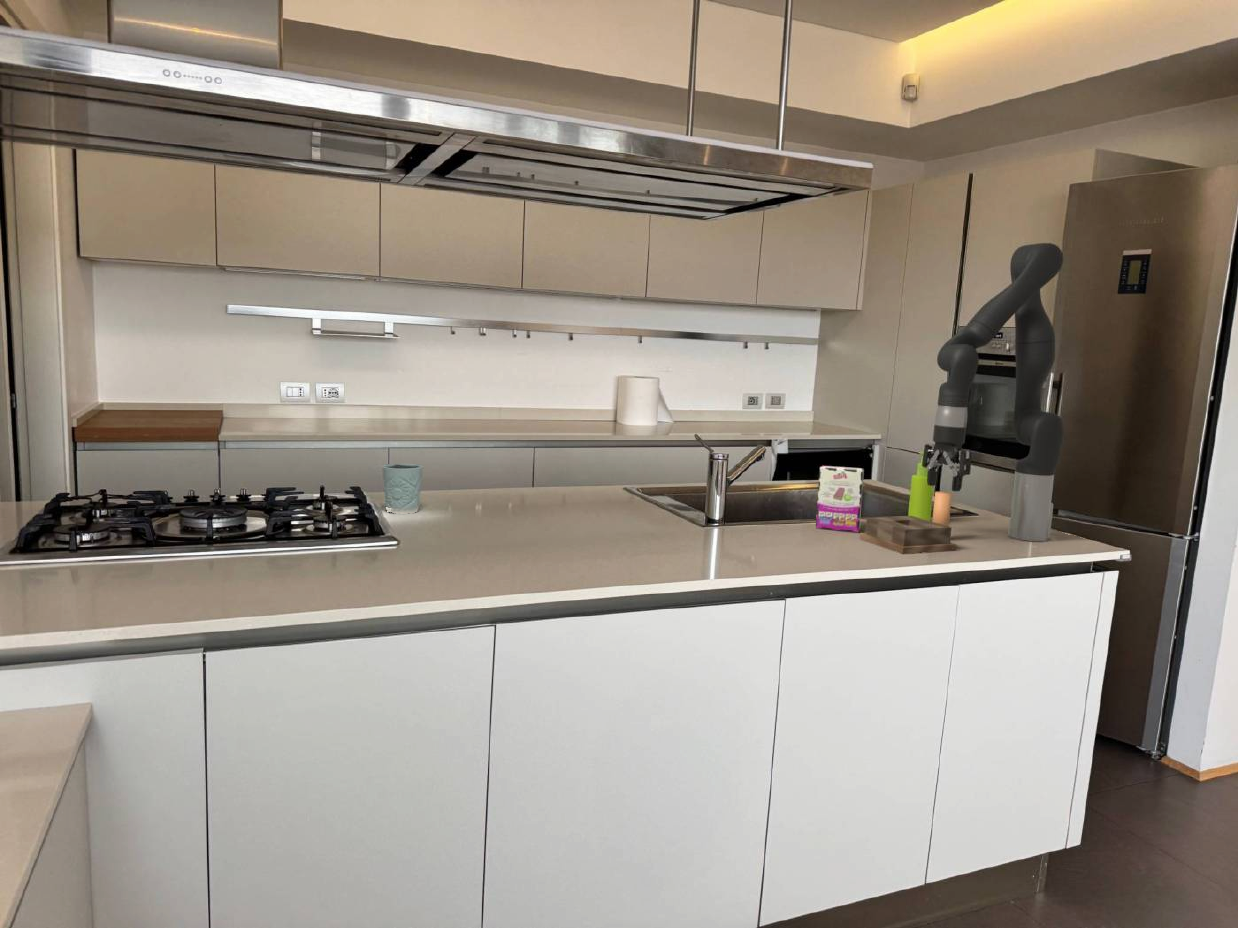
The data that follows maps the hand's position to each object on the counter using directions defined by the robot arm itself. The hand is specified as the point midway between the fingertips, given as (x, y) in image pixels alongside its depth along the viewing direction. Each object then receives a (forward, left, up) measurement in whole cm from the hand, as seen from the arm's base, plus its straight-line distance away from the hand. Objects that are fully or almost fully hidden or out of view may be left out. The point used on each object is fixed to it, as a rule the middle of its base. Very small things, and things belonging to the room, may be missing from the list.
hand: (943, 488), depth 223 cm
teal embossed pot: (+125, -60, -13) cm, 139 cm away
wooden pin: (0, 0, -13) cm, 13 cm away
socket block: (+13, +3, -13) cm, 19 cm away
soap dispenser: (-10, -18, -13) cm, 25 cm away
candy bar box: (+19, -16, -14) cm, 29 cm away
